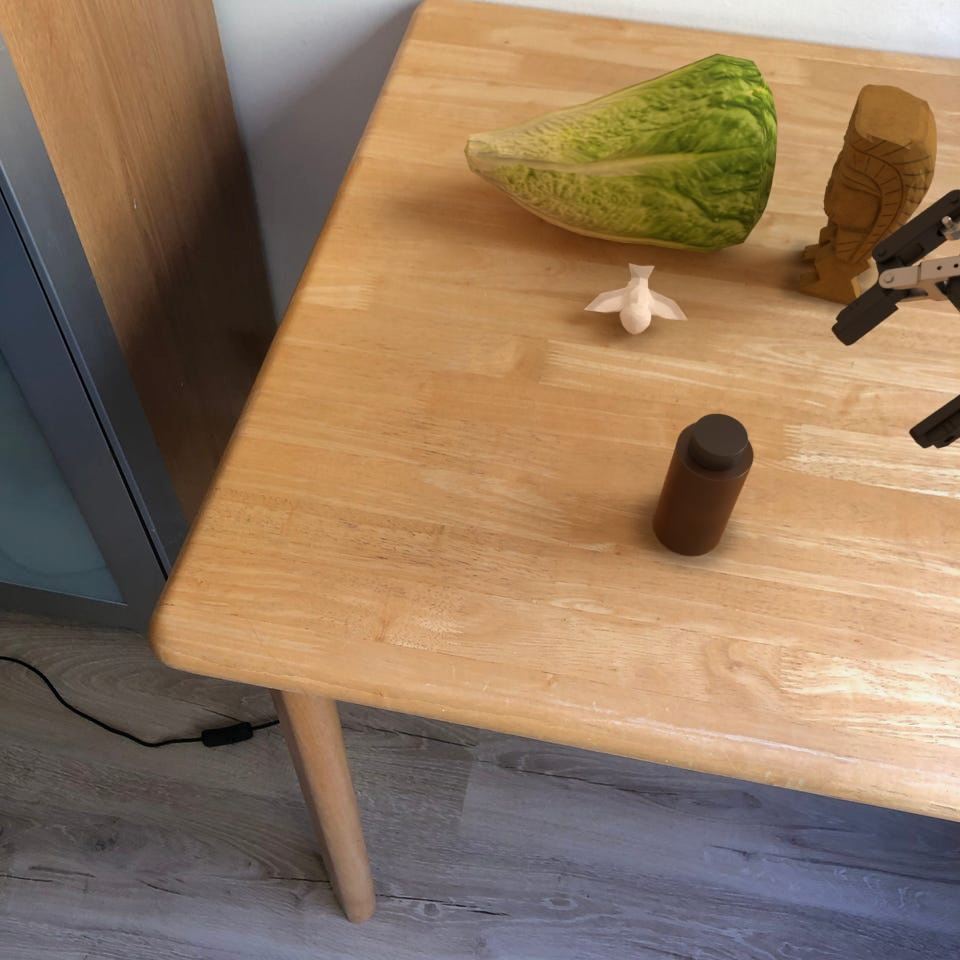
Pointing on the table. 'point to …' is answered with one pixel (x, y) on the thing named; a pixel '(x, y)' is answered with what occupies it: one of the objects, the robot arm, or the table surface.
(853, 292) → the figurine
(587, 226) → the lettuce
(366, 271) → the table surface
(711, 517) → the pepper mill
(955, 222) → the robot arm
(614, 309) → the toy bird
